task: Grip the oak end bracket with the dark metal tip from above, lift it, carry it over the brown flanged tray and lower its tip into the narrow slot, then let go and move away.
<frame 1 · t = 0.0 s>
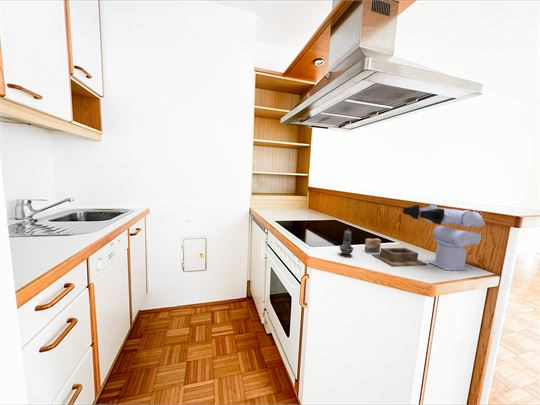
hand: (411, 212, 82), 22 cm above the countertop, tool horizontal, fingers open, 7 cm apart
grey stone statuette: (345, 255, 96), on the countertop
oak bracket: (371, 252, 102), on the countertop
brown flanged tray: (397, 259, 93), on the countertop
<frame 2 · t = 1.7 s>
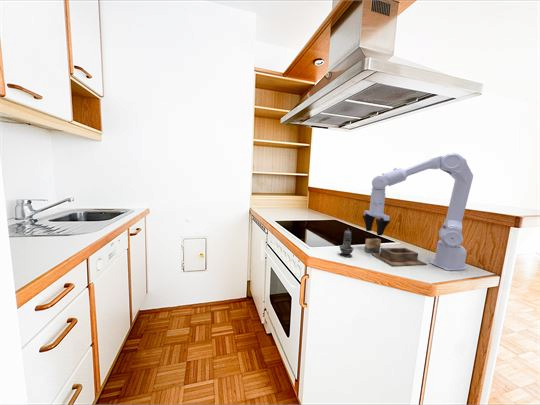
hand: (373, 232, 101), 9 cm above the countertop, tool pointing down, fingers open, 7 cm apart
nothing on the countertop moved.
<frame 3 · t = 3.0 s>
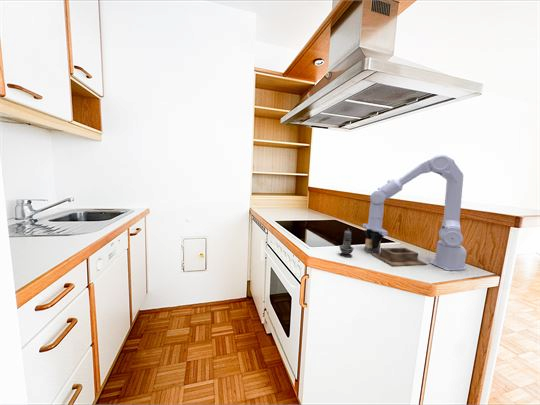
hand: (372, 246, 102), 2 cm above the countertop, tool pointing down, fingers closed on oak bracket, 2 cm apart
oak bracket: (371, 252, 102), on the countertop, touching gripper
everything else where it was.
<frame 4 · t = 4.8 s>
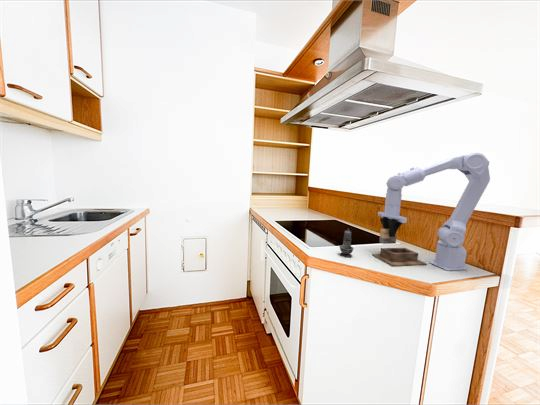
hand: (389, 235, 96), 9 cm above the countertop, tool pointing down, fingers closed on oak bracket, 2 cm apart
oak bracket: (387, 242, 96), point 6 cm above the countertop, touching gripper
everything else where it was.
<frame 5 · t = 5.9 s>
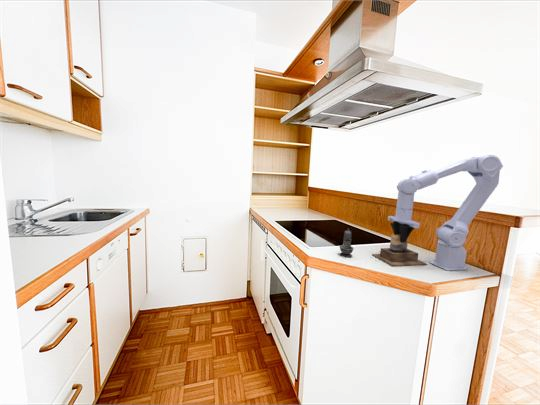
hand: (400, 241, 92), 8 cm above the countertop, tool pointing down, fingers closed on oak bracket, 2 cm apart
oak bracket: (398, 249, 93), point 5 cm above the countertop, touching gripper
everything else where it was.
when the fingers open (5 cm above the countertop, at t = 6.8 s): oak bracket stays where it is, resting on brown flanged tray.
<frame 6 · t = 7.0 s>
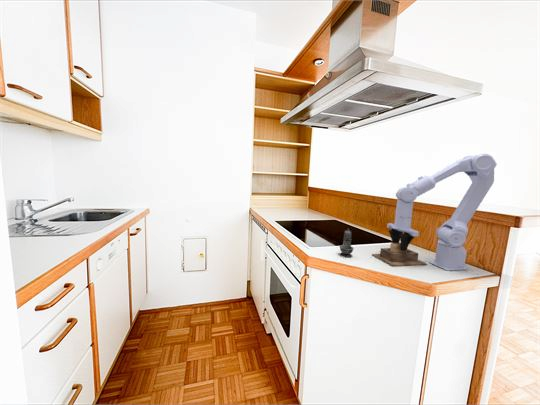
hand: (399, 248, 93), 5 cm above the countertop, tool pointing down, fingers open, 4 cm apart
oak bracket: (397, 257, 93), point 1 cm above the countertop, touching brown flanged tray
everything else where it was.
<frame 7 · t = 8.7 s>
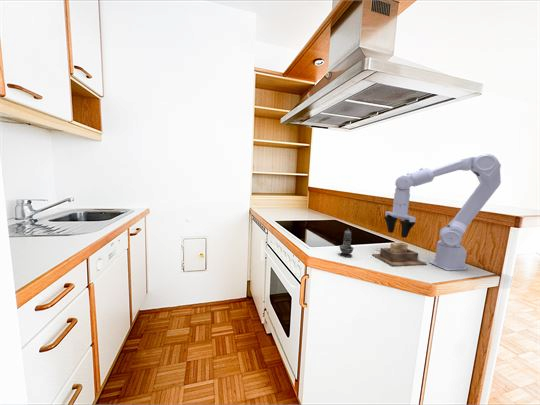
hand: (397, 234, 97), 9 cm above the countertop, tool pointing down, fingers open, 7 cm apart
nothing on the countertop moved.
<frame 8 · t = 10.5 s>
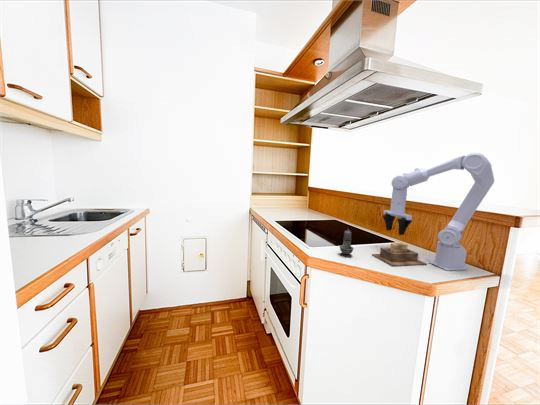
hand: (394, 232, 102), 9 cm above the countertop, tool pointing down, fingers open, 7 cm apart
nothing on the countertop moved.
at the end: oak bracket 0.4 cm off-centre on the brown flanged tray, point 1.0 cm above the brown flanged tray's base; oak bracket tilted 0°; the gripper is holding nothing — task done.
